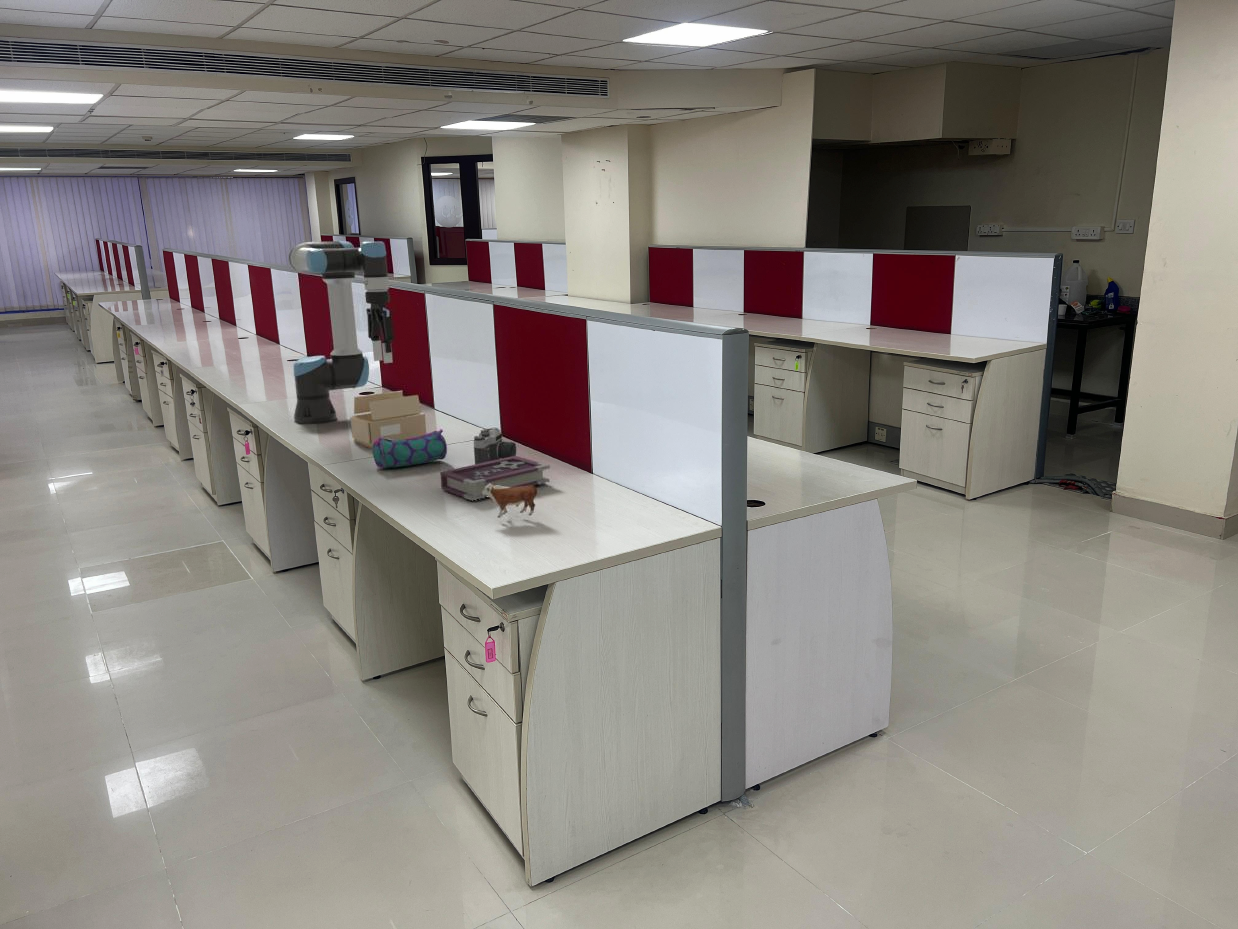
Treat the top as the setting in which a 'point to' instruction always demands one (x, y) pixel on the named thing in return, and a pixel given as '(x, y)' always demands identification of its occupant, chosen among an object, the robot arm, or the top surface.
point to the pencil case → (409, 450)
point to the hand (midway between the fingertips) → (383, 361)
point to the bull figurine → (511, 496)
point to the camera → (492, 446)
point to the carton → (386, 428)
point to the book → (493, 476)
